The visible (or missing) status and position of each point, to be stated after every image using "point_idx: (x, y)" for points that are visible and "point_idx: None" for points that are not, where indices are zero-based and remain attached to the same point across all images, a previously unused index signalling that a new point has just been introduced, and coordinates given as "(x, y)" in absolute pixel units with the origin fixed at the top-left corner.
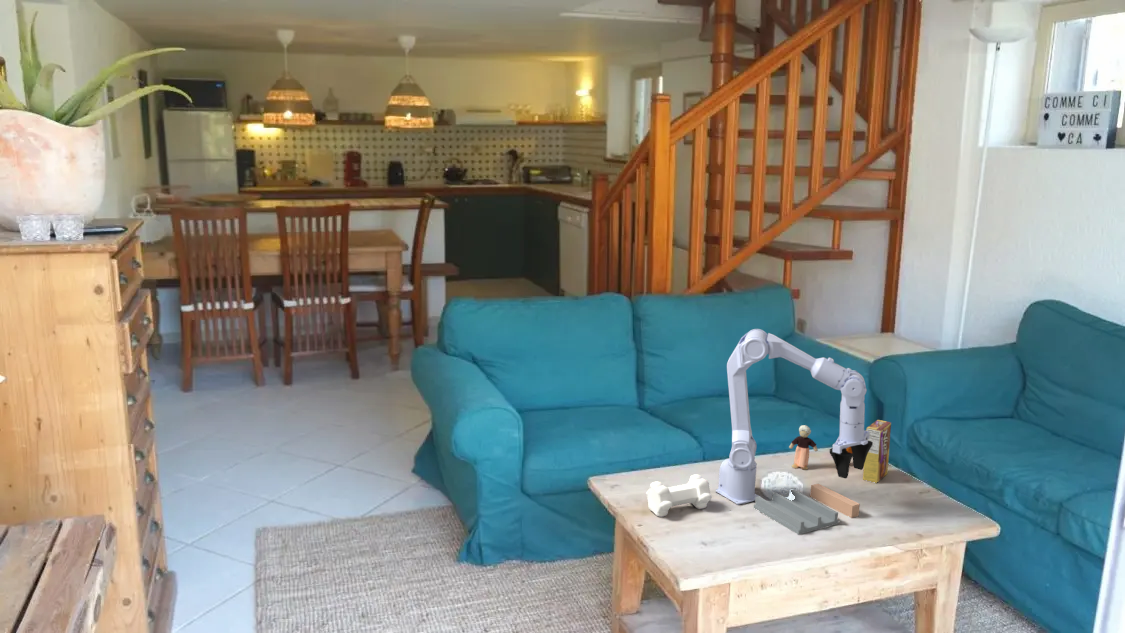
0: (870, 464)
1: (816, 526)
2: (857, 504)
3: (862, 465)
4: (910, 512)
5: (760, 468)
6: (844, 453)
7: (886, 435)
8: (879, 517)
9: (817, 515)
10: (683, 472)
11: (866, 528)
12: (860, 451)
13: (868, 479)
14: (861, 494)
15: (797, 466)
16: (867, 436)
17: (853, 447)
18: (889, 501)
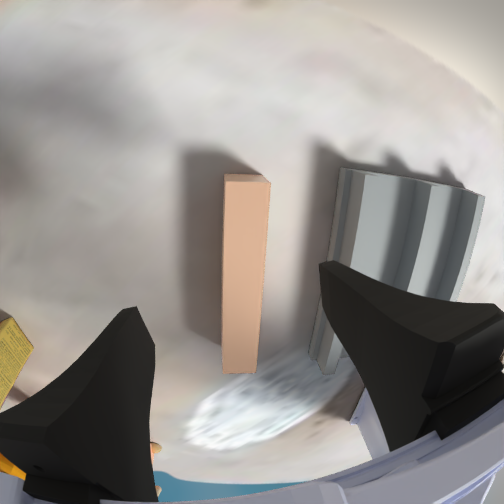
0: (2, 366)
1: (427, 181)
2: (238, 182)
3: (128, 320)
4: (41, 119)
5: (231, 461)
6: (475, 374)
7: None
8: (163, 128)
9: (430, 200)
10: (364, 462)
11: (285, 90)
12: (114, 416)
13: (23, 338)
14: (86, 291)
15: (151, 446)
16: (15, 501)
17: (142, 463)
18: (40, 213)
